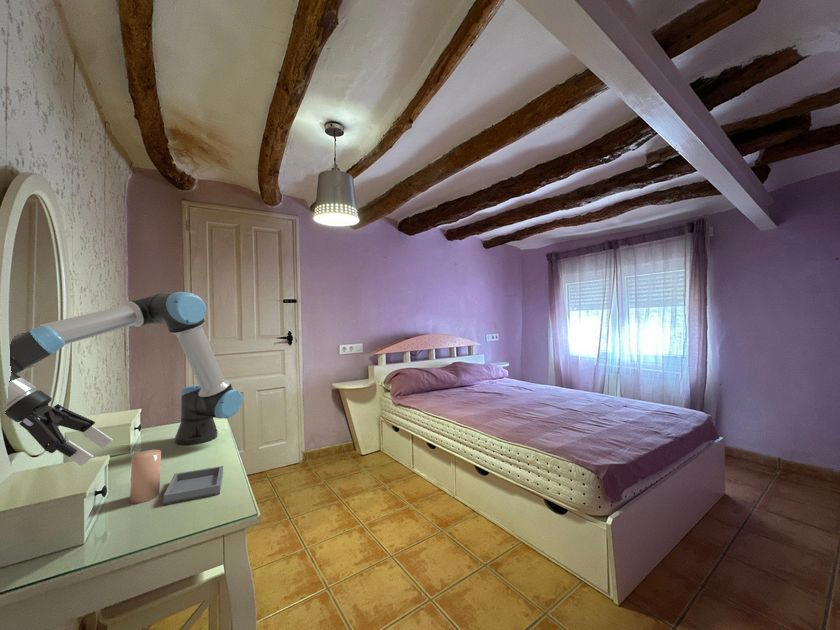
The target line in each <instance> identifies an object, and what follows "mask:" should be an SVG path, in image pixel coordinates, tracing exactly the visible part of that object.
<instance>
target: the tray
mask: <svg viewBox="0 0 840 630" xmlns="http://www.w3.org/2000/svg"><path fill="white" fill-rule="evenodd" d="M223 477H224V465H221V466H219V465H218V466H213V467H208V468H202V469H195V470H190V471H189V470H188V471H182V472H177V473H173V476H172V478H171V480H170V482H169V484H168V486H167V488H166V490H165V492H164V494H163V501H162V502H163V503H162V504H163V506H167V505H171V504H175V503H176V504H177V503H182V502H187V501H191V500H196V499H198V500H199V499H203V498H207V497H212V496H217V495H220V494H221V488H222V484H223V483H222V482H223Z"/></svg>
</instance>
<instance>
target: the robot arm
mask: <svg viewBox="0 0 840 630" xmlns="http://www.w3.org/2000/svg"><path fill="white" fill-rule="evenodd" d="M206 313H207V306H206V303H205V302H204V300H203V299H202V298H201V297H200V296H199V295H197V294H194V293H193V292H186V291H175V292H160V293H155V294H151V295H147V296H145V297H141V298H137V299H133V300H129V301H126V302H125V303H124V305H121V306H116V307H112V308H107V309H104V310H103V309H102V310H99V311H95V312H91V313H86V314H82V315H78V316H72V317H69V318H64V319H61V320H56V321H51V322H48V323H42V324H39V325H40V326H39V327H37V328H35V329H32V330H29V331H28V332H26V333H21V334H17V335H16V336H14V338H13V339H12V341H11V344H10V366H11V371H12V372H11V376H10V381H11V382H10V381H9V386H8V399H7V402H6V404H4V405H3V407H4V408H5V407H6V406H7V410H6V411H4V412H6V413H4V414H6V415H7V416H6V415H5V416H6V417H7V418H9V419H11V420H12V421H14V422H15V423H18V424H19V426H20V427H22V428H24V429H25V430H26V431H27V432H29V434H30V435H31V436H32V438H33V439H34V440H35V441H36V442H37V443H38V444H39V445H40V447H41V448H43V449H44V451H45V452H48V453H50V454H53V453H55V452H59V453H61V454H62V455H63V456H65V457H66V458H68V459H70V460H71V461H72V462H75V463H76V464H78V465H79V466H81V467H83V466H84V465H85V464H86V463H87V462H88V461H89V460H91V459H92V458H94V455H93V454H92V453H90V452H88V451H87V450H85V449H84V448H82V447H81V446H79V445H78V444H76V443H74V442H73V441H71V440H66V438H65V437H64V435H63V433H62V432H61V430H60V429H59V427H63V428H67V429H69V430H74V431H78V432H80V433H82V436H84V437H85V438H88V439H89V440H90V441H92V442H93V443H94V444H96V445H97V446H99V447H100V448H103V449H104V448H105V447H106V446H108V444H110V443H111V442H112V441H113V440H114V439H113V438H112V437H110V436H109V435H107V434H106V433H104V432H103V431H101V430H100V429H98V428H97V427H96V426H94V424H96V422H95V421H94V420H92V419H89V418H87V416H86V417H85V416H83V415H80V414H79V413H76V412H74V411H72V410H70V409H67V408H66V407H64V406H62V405H61V404H57V403H56V404H55V405H54V406H50V405H49V404H50V403H51V401H52V399H53V398H52V397H51V396H49V395H48V394H46V393H45V392H44V391H42V390H38V389H37V386H36V385H34V384H32V383H31V382H29V381H28V380H27V379H25V378H24V377H21V376H20V375H19V373H20V372H23V371H24V370H26V369H28V368H29V367H30V368H31V366H33V365H35V364H37V363H39V362H40V361H42V360H44V359H46V358H48V357H50V356H51V355H55V353H56V352H58V351H59V350H60V349H62V348H64V347H65V346H66V345H68V344H69V345H70V344H72V343H75V342H79V341H83V340H86V339H89V338H94V337H97V336H100V335H103V334H107V333H111V332H115V331H118V330H122V329H126V328H130V327H133V326H134V327H137V328H140V327H143V326H147V325H157V324H161V325H163V324H164V325H165V326H166V327H167V329H168V332H169V334H172V335H174V336H176V337H177V340H178V342H179V344H180V346H181V348H182V351H183V353H184V355H185V357H186V359H187V362H188V364H189V366H190V368H191V370H192V372H193V375H194V376H195V379H196V381H197V384H192V385H188V386H184V387H183V388H182V390H181V395H180V398H181V401H180V402H181V403H180V423H179V426H178V429H177V431H176V435H175V436H174V443H175V444H177V445H182V446H185V445H187V446H189V445H197V444H202V443H203V444H204V443H205V442H206V443H207V442H210V441H212V440H214V439H217V438H218V433H219V432H218V428H217V426H216V425H217V424H216V423H215V420H214V418H215V419H220V420H221V419H230V418H232V417H234V416H235V415H236V414H237V413H238V412H239V411H240V409H241V406H242V404H243V394H242V392H240V391H239V390H237V389H234V388H233V385H232V384H231V381H230V380H228V379H225V378H224V375H223V373H222V370H221V369H220V366H219V363H218V361H217V359H216V357H215V354H214V352H213V350H212V347H211V344H210V342H209V340H208V338H207V336H206V333H205V330H204V328H203V326H204V325H205V323H206V321H205V317H206ZM12 380H13V381H12Z"/></svg>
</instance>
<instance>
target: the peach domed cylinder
mask: <svg viewBox="0 0 840 630" xmlns="http://www.w3.org/2000/svg"><path fill="white" fill-rule="evenodd" d="M161 465H162V450H160V449H149V450H143V451H139V452H136V453H134V454H133V455H132V456H131V466H130V467H131V471H130V491H129V492H130V493H129V502H130V503H131V504H141V503H145V502H146V503H147V502H149V501H152V500H154V499H156V498H158V497H159V495H160V488H161V470H162V469H161Z"/></svg>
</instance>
